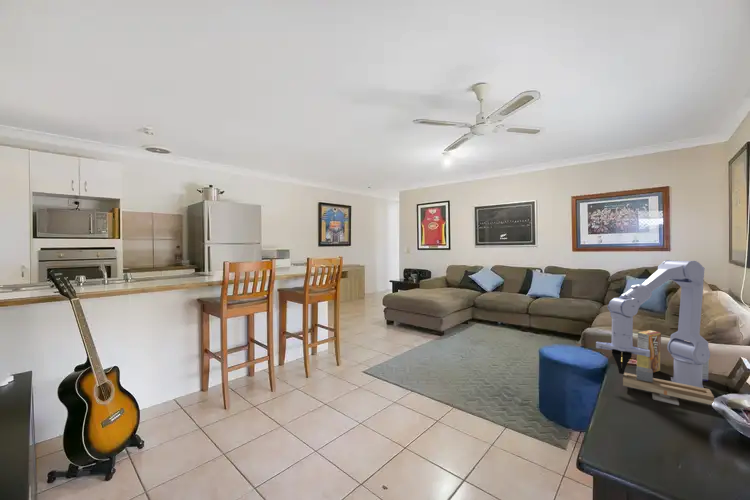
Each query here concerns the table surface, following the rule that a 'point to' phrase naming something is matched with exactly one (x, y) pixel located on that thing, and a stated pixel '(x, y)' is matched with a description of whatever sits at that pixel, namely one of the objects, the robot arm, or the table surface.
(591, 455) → the table surface
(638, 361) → the candy box
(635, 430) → the table surface
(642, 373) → the block
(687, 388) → the tan slotted track
